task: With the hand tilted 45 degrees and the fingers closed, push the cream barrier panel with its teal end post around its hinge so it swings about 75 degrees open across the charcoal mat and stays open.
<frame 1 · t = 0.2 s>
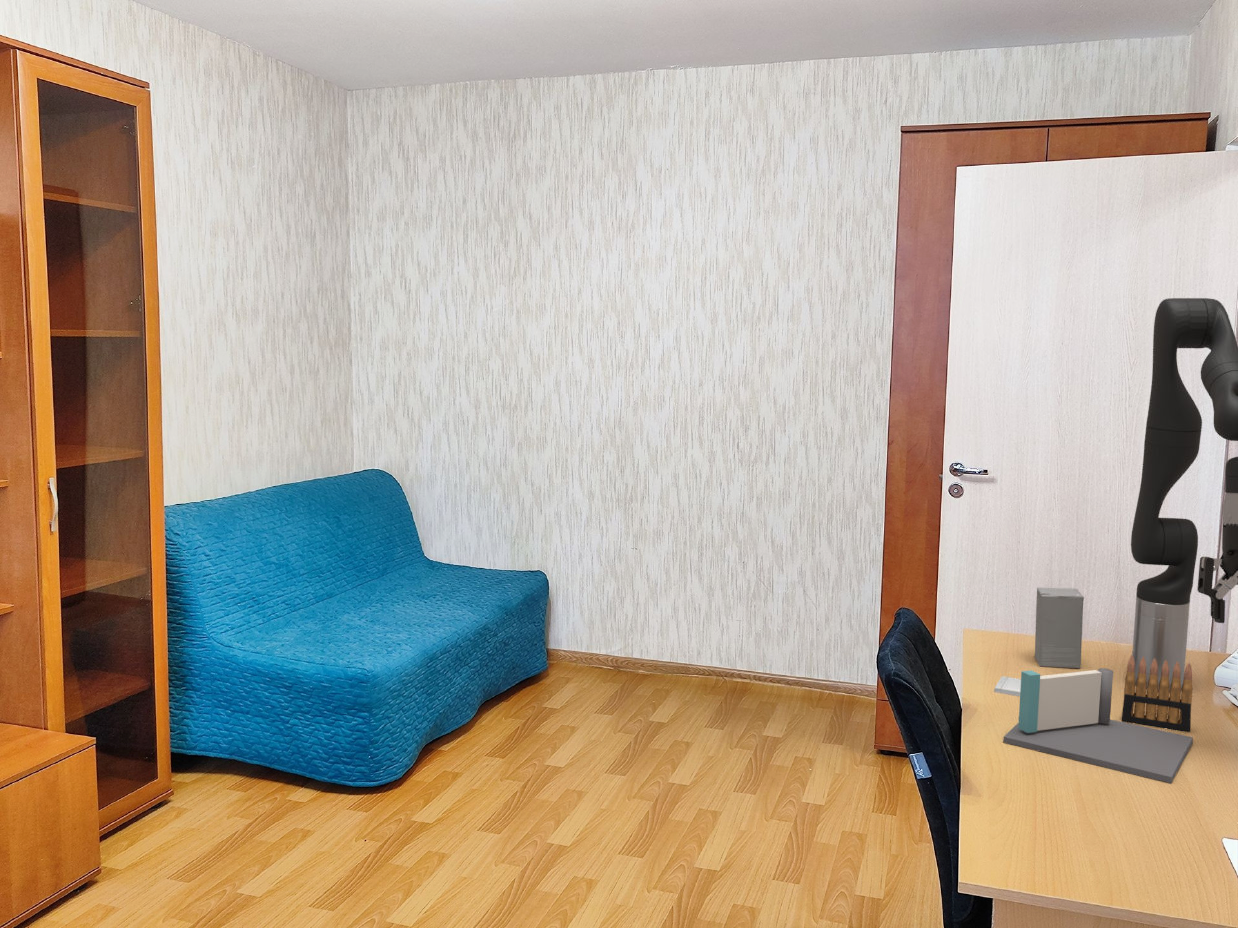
ammunition clip: (1155, 726, 176), on the table
cream barrier panel: (1067, 696, 171), point 7 cm above the table, hinge at 0.0°
skincare box: (1056, 664, 209), on the table
gate mat: (1098, 742, 168), on the table
hard drive: (1031, 695, 192), on the table
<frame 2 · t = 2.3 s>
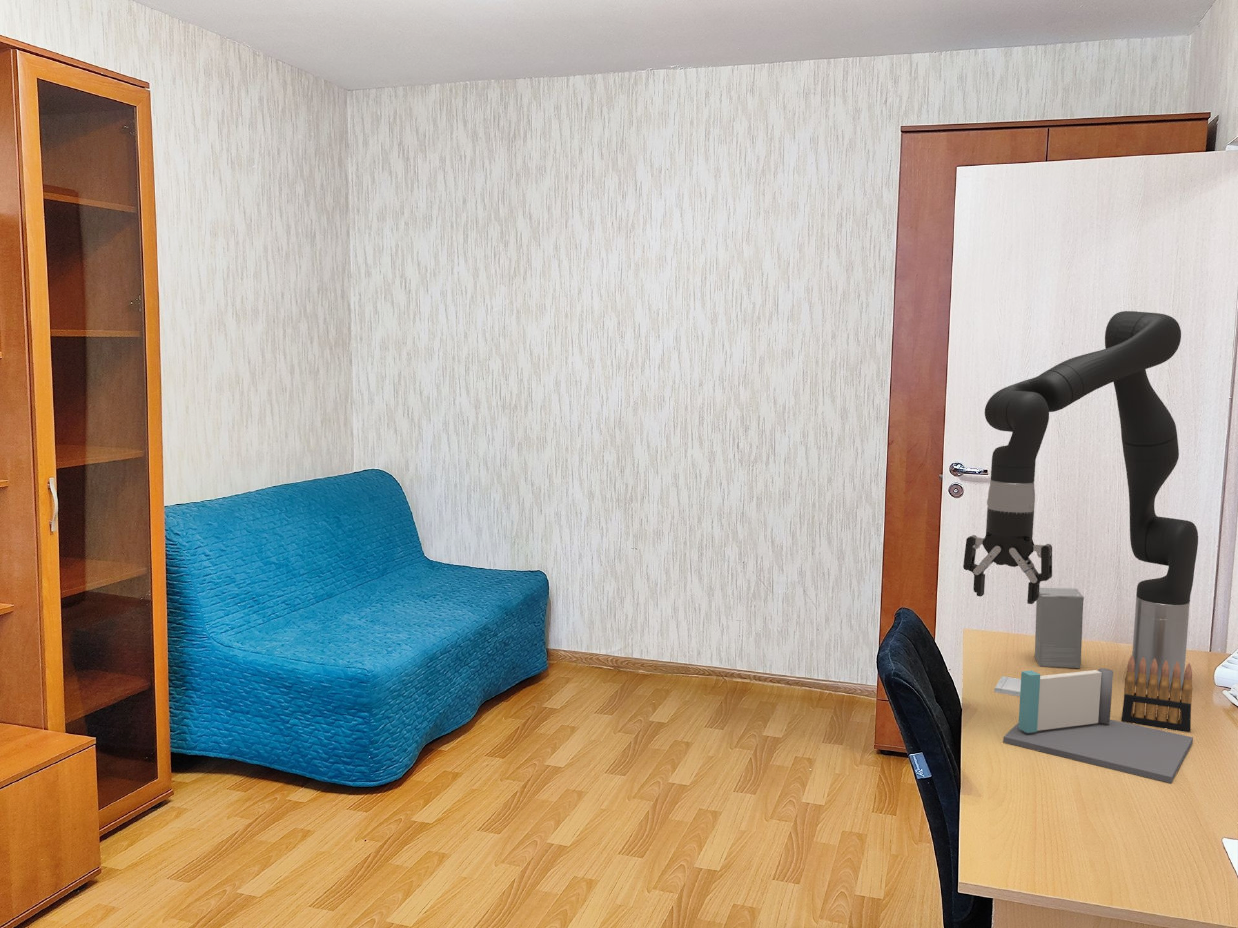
hand: (1005, 599, 173), 22 cm above the table, tool pointing down, fingers open, 8 cm apart
nothing on the table moved.
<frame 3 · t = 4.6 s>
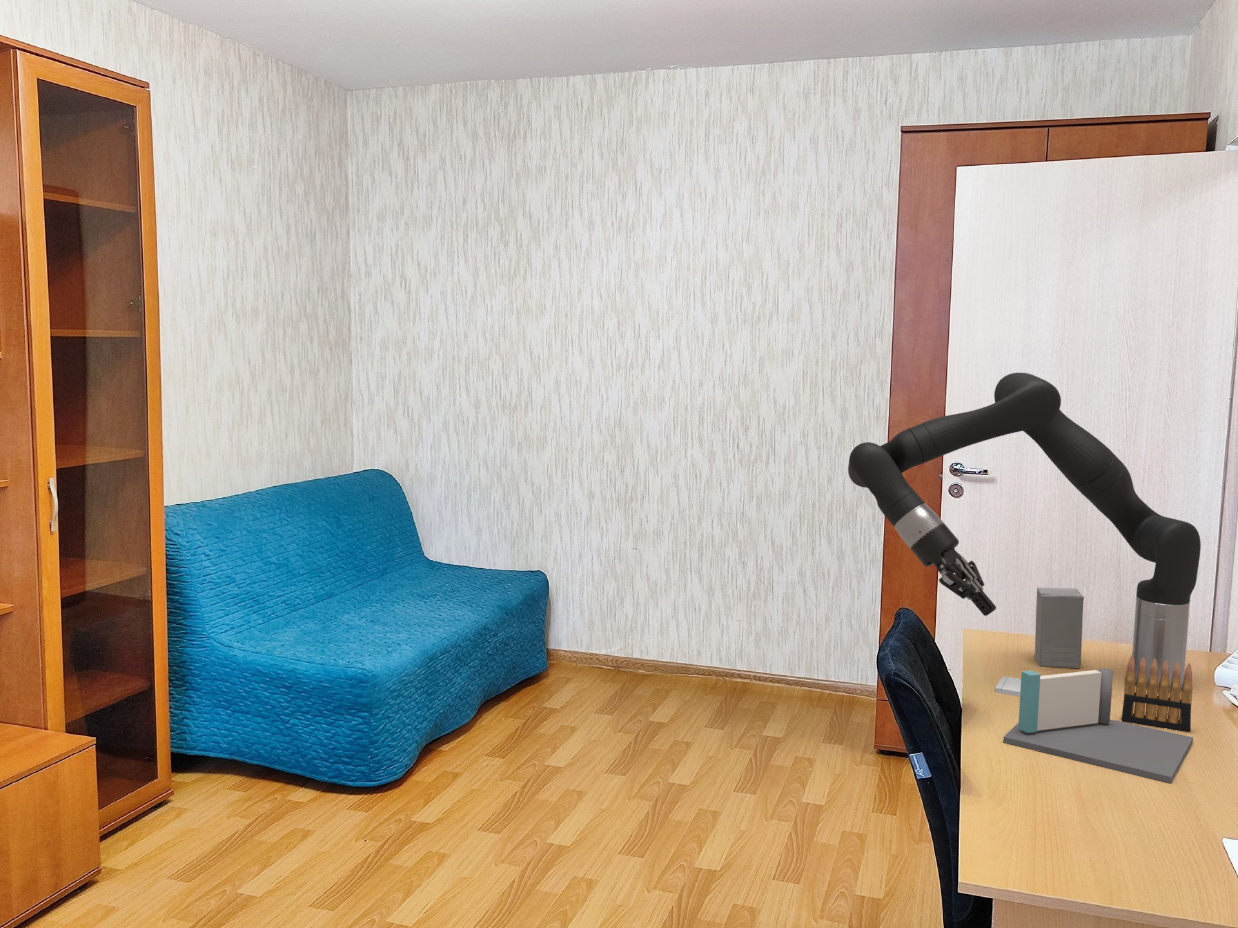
hand: (991, 612, 174), 20 cm above the table, tool tilted 45°, fingers closed
nothing on the table moved.
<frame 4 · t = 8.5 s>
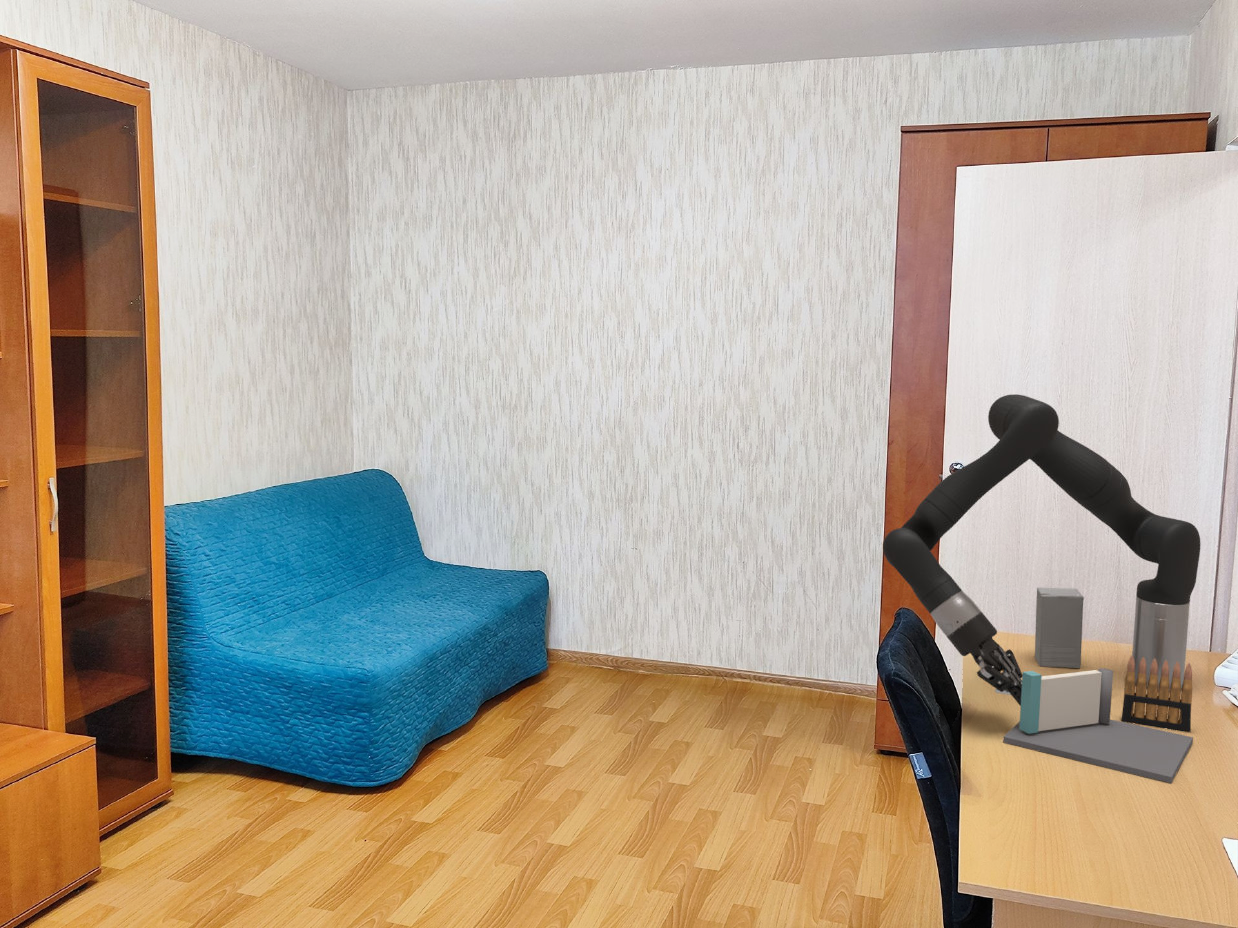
hand: (1030, 705, 171), 5 cm above the table, tool tilted 45°, fingers closed
cream barrier panel: (1068, 697, 171), point 7 cm above the table, hinge at 1.1°, touching gripper
everything else where it was.
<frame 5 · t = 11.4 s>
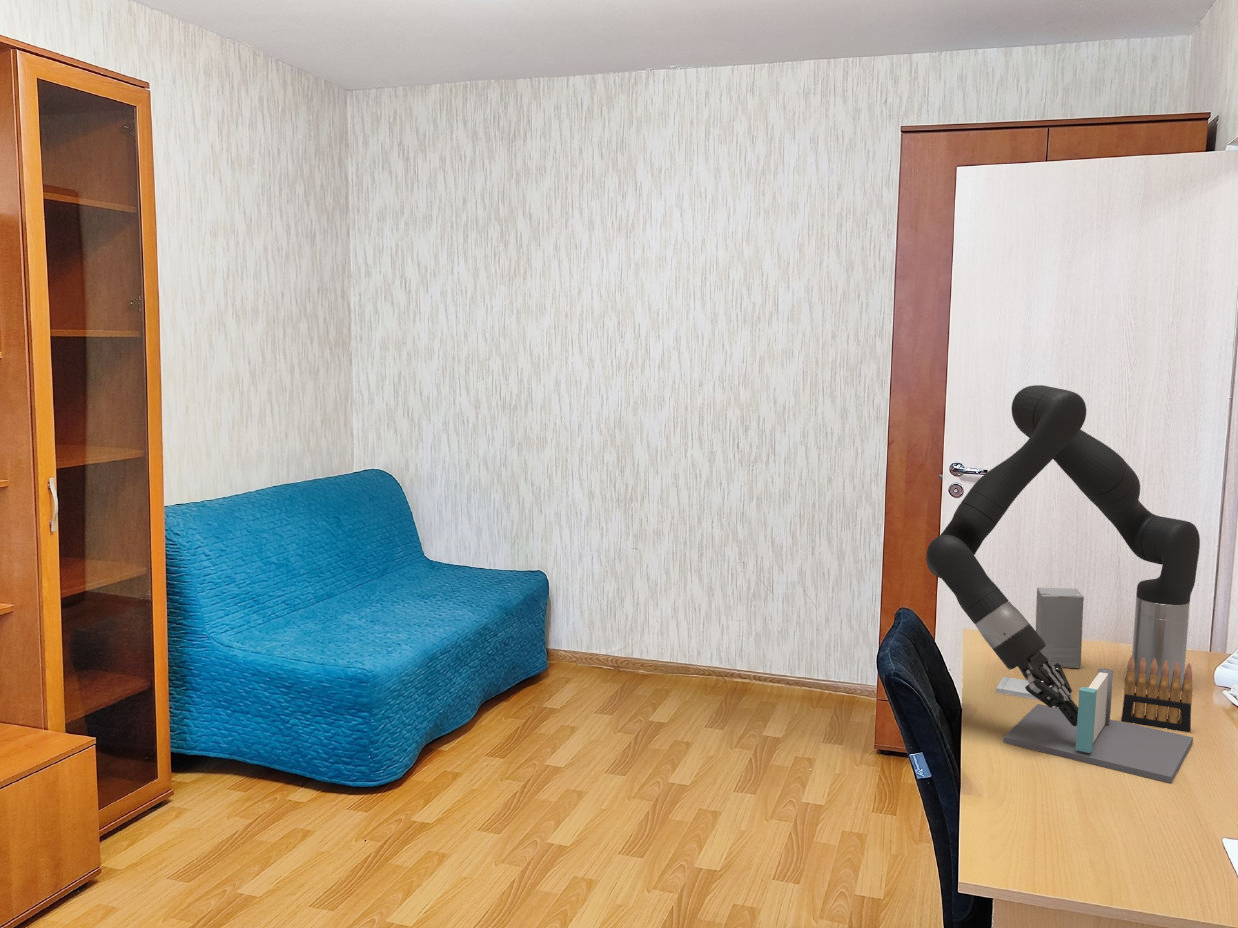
hand: (1080, 722, 164), 5 cm above the table, tool tilted 45°, fingers closed
cream barrier panel: (1095, 705, 167), point 6 cm above the table, hinge at 37.6°, touching gripper
everything else where it was.
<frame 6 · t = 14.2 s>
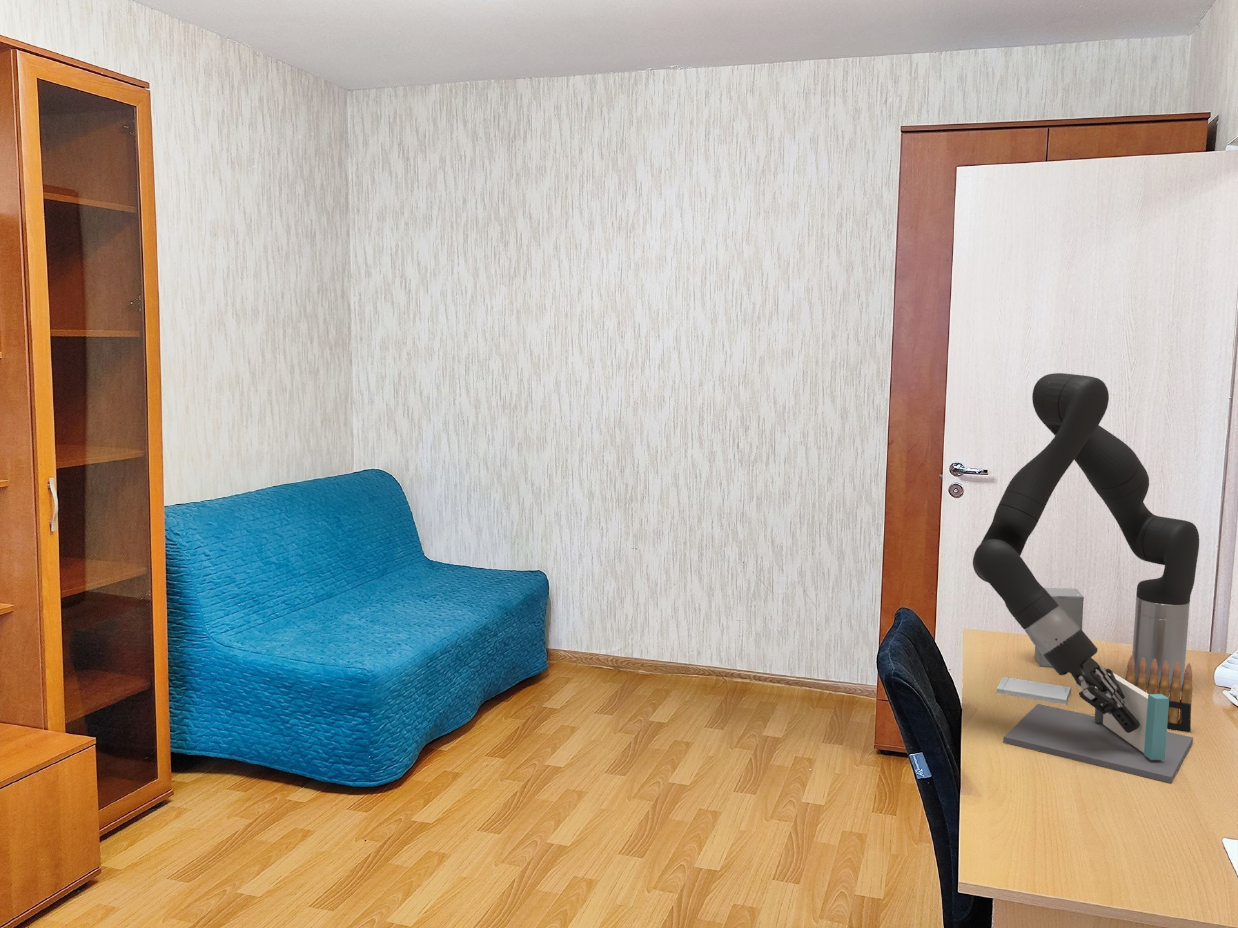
hand: (1134, 729, 161), 5 cm above the table, tool tilted 45°, fingers closed
cream barrier panel: (1128, 708, 165), point 7 cm above the table, hinge at 76.0°, touching gripper
everything else where it was.
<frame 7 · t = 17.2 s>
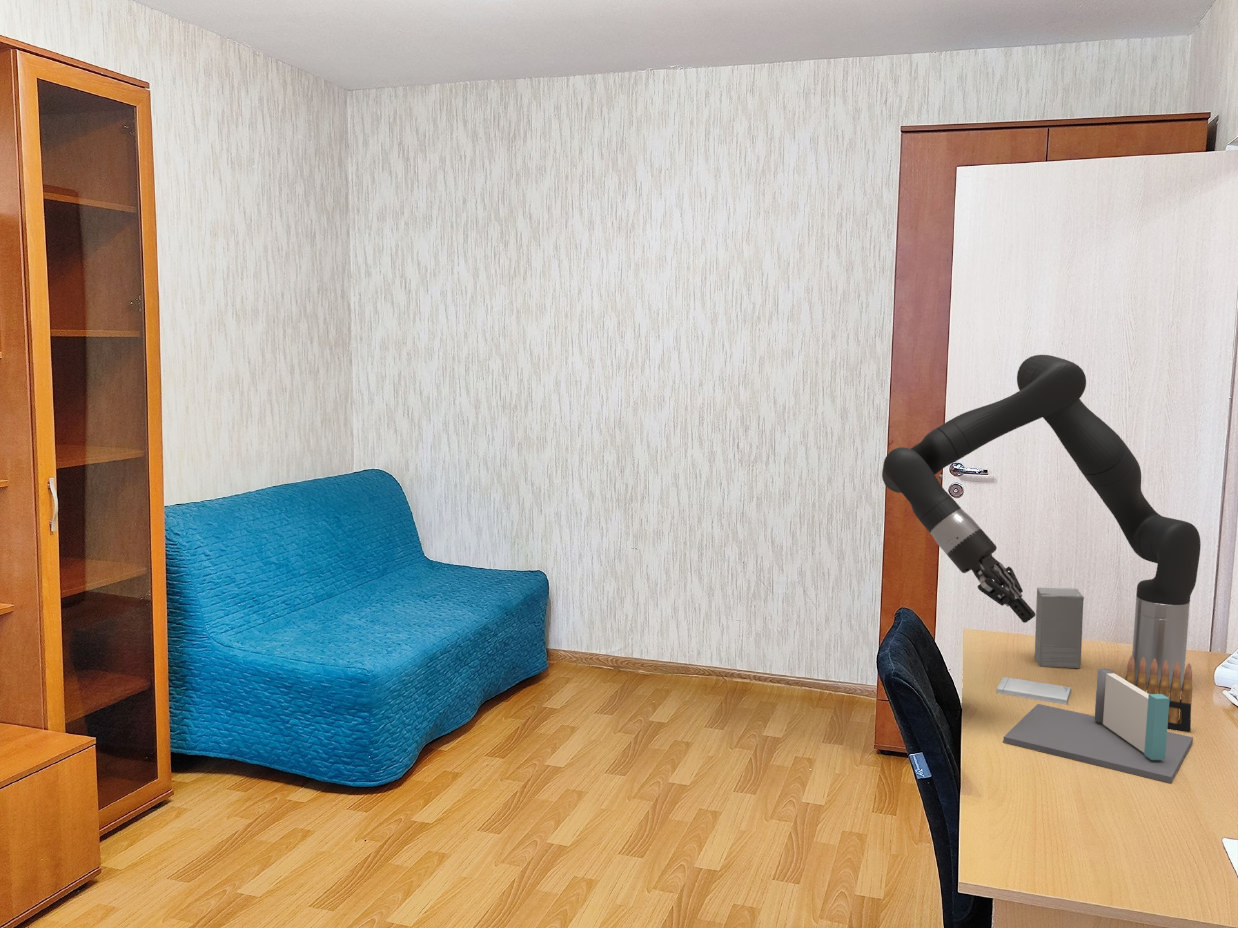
hand: (1030, 619, 172), 19 cm above the table, tool tilted 45°, fingers closed
cream barrier panel: (1128, 708, 165), point 7 cm above the table, hinge at 76.2°
everything else where it was.
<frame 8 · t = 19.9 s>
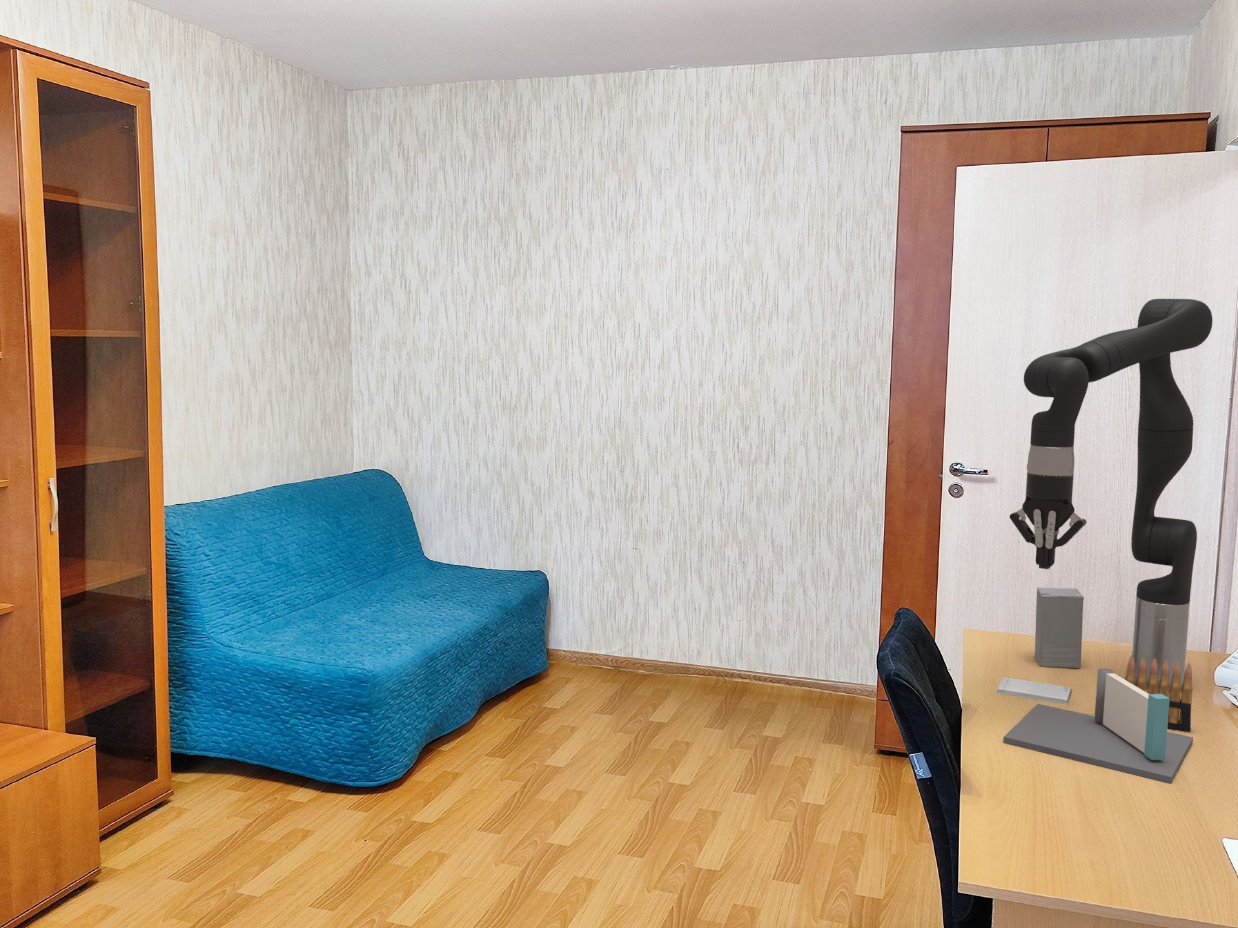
hand: (1044, 567, 177), 27 cm above the table, tool pointing down, fingers closed
nothing on the table moved.
at the end: cream barrier panel at +76° (first picture: +0°) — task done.
